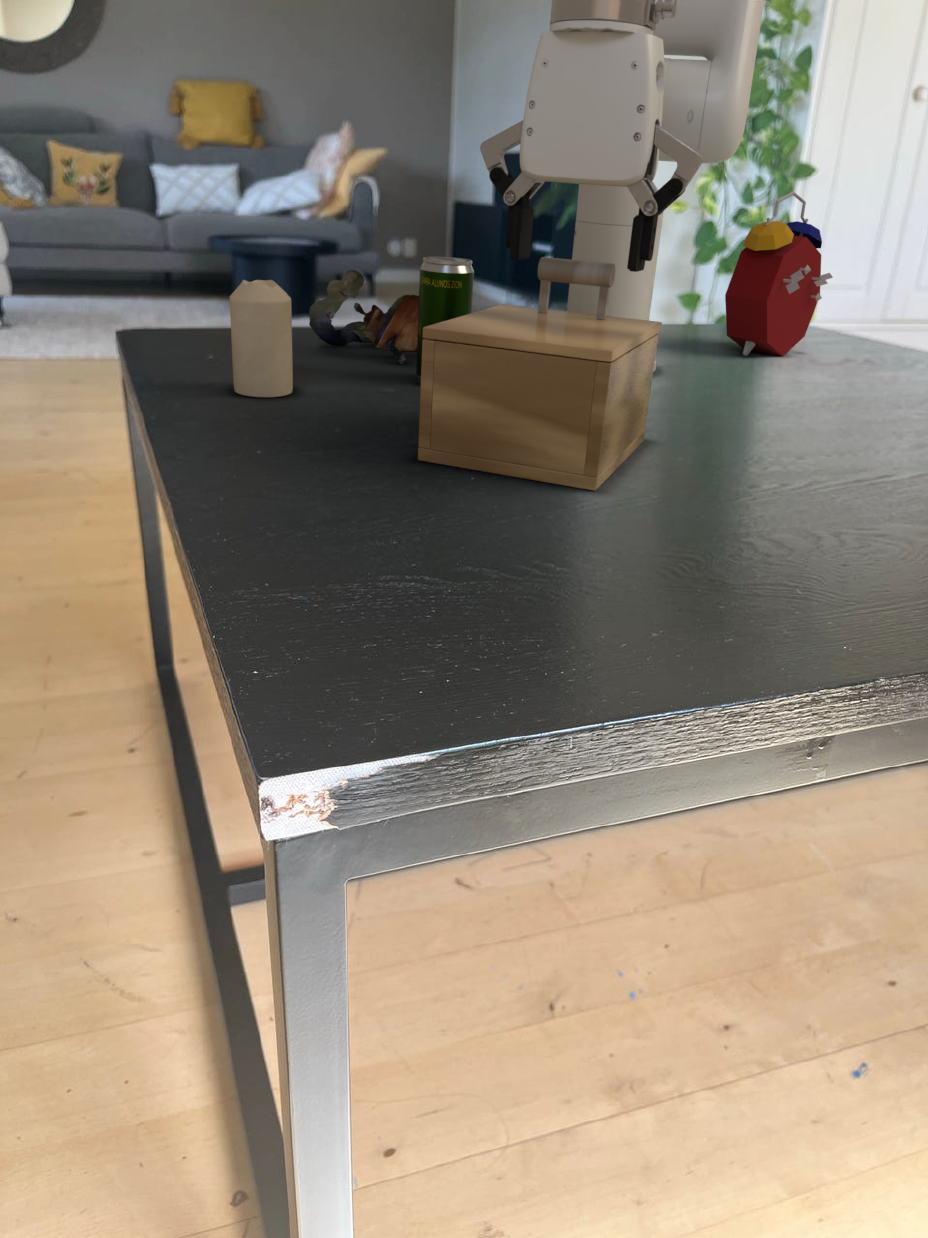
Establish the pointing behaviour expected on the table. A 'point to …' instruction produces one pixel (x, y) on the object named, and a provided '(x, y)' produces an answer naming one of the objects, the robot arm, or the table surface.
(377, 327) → the figurine
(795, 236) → the alarm clock
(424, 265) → the beer can
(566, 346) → the lid
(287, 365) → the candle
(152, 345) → the table surface
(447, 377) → the chest
